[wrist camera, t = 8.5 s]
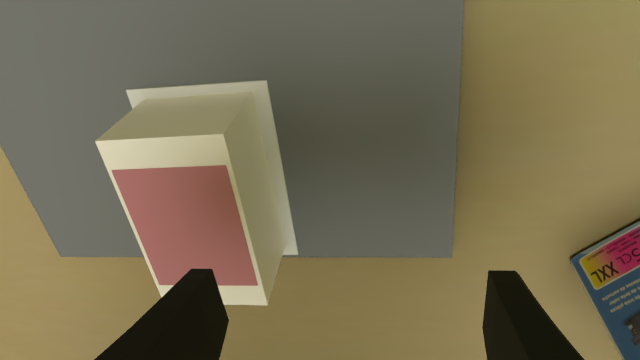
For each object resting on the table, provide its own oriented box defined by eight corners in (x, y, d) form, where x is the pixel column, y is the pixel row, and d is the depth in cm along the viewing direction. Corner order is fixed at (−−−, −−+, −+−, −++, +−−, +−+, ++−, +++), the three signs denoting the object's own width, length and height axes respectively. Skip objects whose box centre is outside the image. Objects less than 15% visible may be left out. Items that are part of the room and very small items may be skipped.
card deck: (252, 91, 19) (222, 134, 16) (285, 246, 24) (267, 306, 20) (144, 99, 20) (94, 141, 17) (195, 247, 25) (163, 304, 21)
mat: (450, 249, 23) (452, 258, 23) (66, 249, 27) (59, 257, 26) (471, -205, 14) (475, -209, 13) (-121, -107, 18) (-139, -107, 17)
